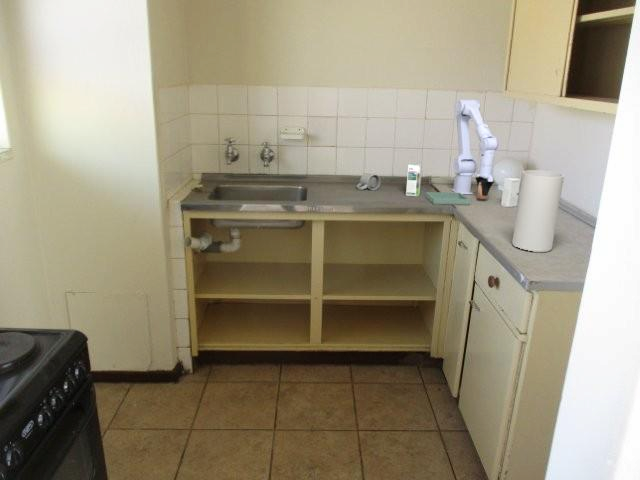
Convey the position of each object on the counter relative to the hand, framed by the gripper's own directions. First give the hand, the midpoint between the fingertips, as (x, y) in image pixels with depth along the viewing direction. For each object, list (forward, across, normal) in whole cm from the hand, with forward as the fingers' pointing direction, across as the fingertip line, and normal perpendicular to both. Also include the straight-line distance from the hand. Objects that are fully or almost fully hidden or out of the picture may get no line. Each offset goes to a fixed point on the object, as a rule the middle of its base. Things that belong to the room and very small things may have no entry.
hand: (482, 194), depth 240 cm
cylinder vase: (+3, +67, -7) cm, 68 cm away
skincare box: (+3, +9, +9) cm, 13 cm away
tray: (+3, +2, -17) cm, 17 cm away
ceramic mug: (+3, -23, -50) cm, 55 cm away
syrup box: (+3, -10, -30) cm, 32 cm away
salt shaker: (+2, 0, 0) cm, 2 cm away
